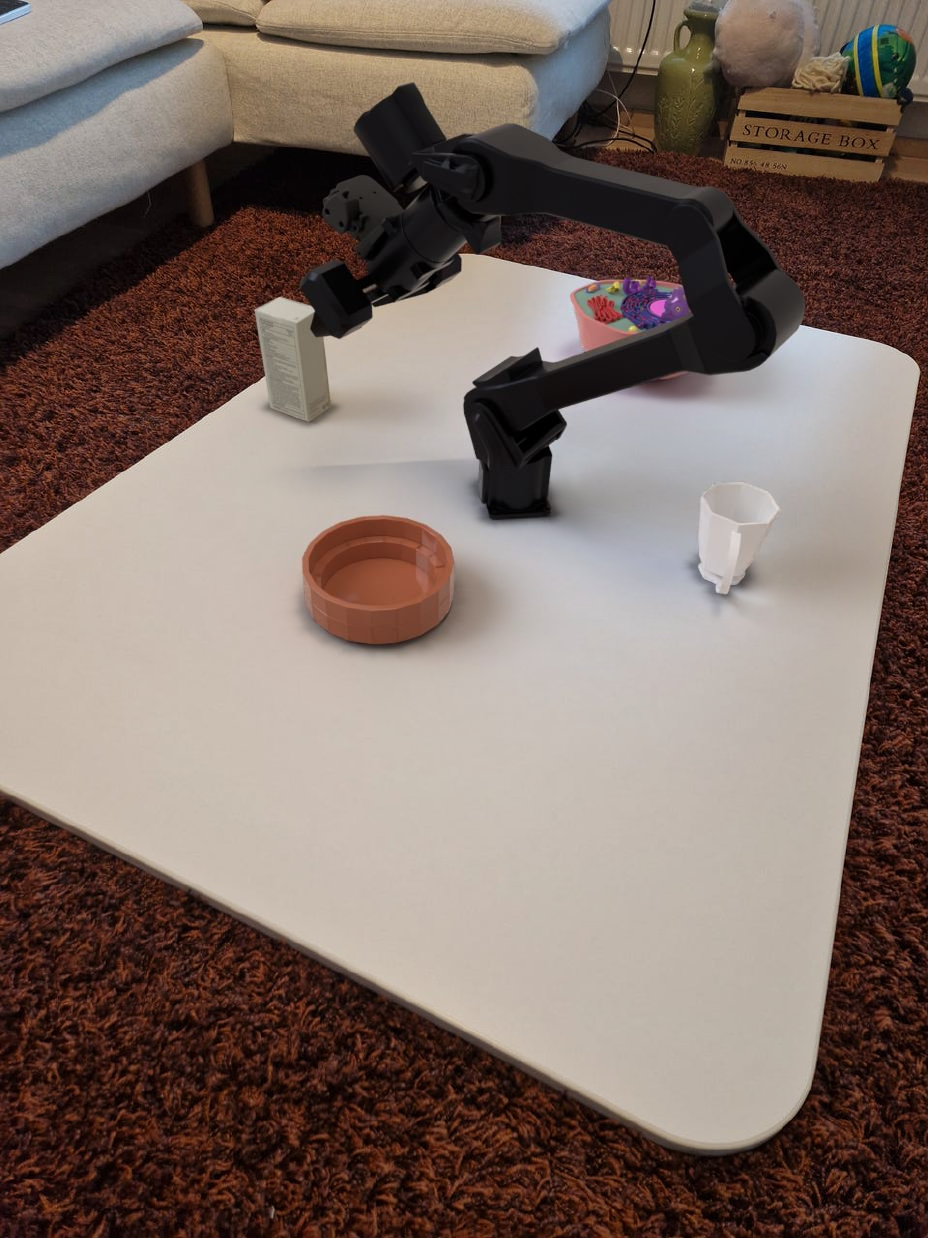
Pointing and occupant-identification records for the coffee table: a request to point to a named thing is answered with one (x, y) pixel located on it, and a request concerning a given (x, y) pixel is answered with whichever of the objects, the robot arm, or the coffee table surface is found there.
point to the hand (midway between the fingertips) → (343, 317)
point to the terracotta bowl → (378, 579)
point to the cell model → (625, 309)
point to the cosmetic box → (293, 359)
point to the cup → (732, 530)
